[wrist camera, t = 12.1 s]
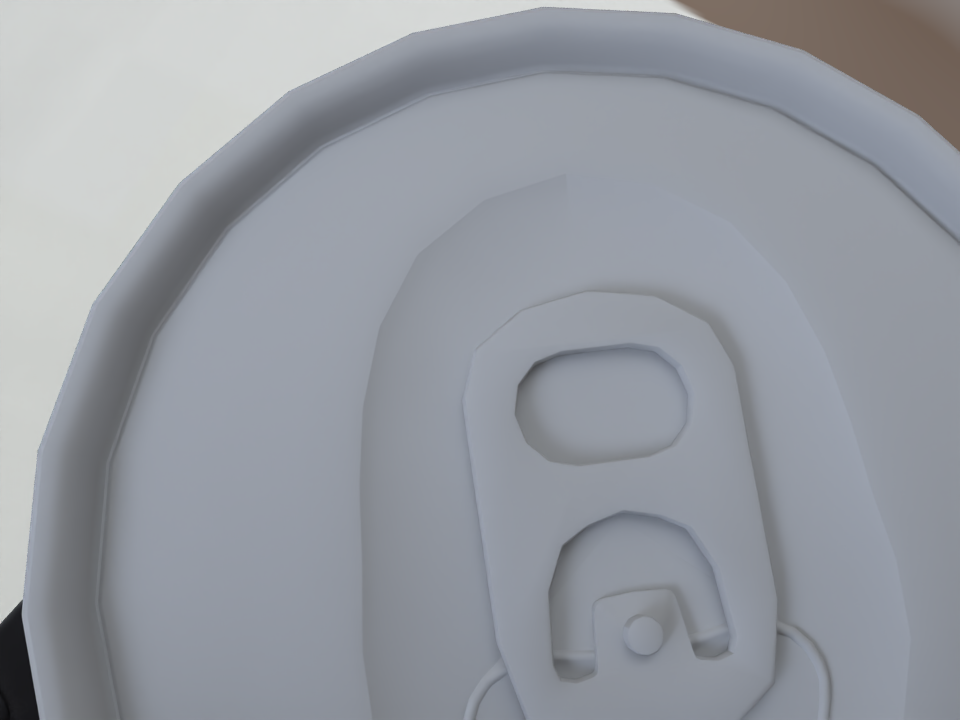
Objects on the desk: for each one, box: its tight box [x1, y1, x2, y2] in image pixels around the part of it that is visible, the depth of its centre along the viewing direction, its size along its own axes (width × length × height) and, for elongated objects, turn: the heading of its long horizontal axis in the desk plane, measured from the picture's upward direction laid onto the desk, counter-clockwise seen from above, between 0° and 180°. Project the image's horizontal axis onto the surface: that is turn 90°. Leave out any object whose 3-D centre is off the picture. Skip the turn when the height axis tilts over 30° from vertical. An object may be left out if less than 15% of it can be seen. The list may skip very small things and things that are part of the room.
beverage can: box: [22, 7, 960, 720], centre depth 9 cm, size 5×5×12 cm
